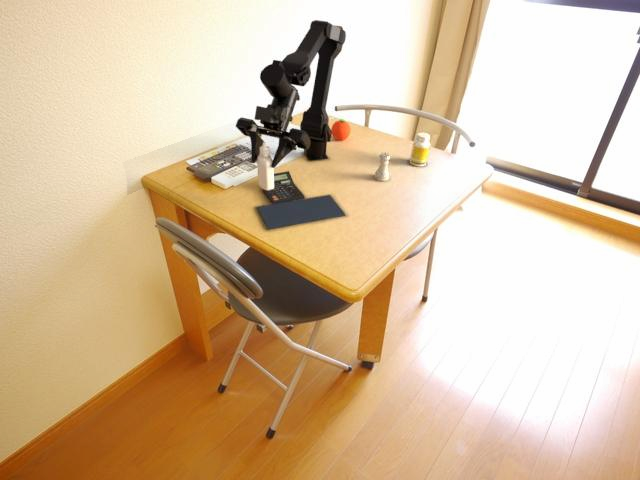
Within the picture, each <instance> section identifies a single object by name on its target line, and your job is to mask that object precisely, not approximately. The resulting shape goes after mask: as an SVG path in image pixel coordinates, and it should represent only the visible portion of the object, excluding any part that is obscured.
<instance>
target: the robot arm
mask: <svg viewBox="0 0 640 480" xmlns="http://www.w3.org/2000/svg"><path fill="white" fill-rule="evenodd" d="M346 37H347V33H346V31H345V30H344V28H343V26H341V25H336V24H335V25H334V24H332V23H331V22H329V21H327V20H326V21H325V20H318V19H314V20H312V21H311V22H310V25H309V29H308V31H306V33H305V35H304V37H303V38H302V40H301V41H300V44H299V45H298V47H297V48H296V50H295V51H294V52H291V53H288V54H287V55H286V56H284V58H283V59H282V60H278V59H273V60H272V63H270V64H268V65H266V66H265V67H264V68H262V70H261V71H260V73H259V79H260V82H261V84H262V85H263V86H264V88H265V89H266V90H267V92H268V94H269V95H270V96H271V97H272V101H271V103H268V104H267V106H266V107H265V106H260V105H256V107H255V114H254V119H251V118H247V117H242V116H241V117H240V118H238V119H237V120H236V124H235V128H236V129H237V130H238V131H239V132H240V133H241V134H242V135H243V136H245V137H249V140H250V146H251V147H250V148H251V149H250V150H251V154H250V155H251V163H253V164H255V163H257V156H258V155H260V147H261V146H262V145H263V142H265V140H264V139H262V136H267V137H270V138H271V137H272V138H276V139H278V145H277V148H276V151H275V154H274V156H273V158H272V160H273V161H272V165H271V167H272V168H274V169H275V168H276V167H277V166H278V165H279V164H280V163H281V162H282V160H283V159H284V158H286V157H287V155H289V154H290V153H291V152H292V151H296V150H297V148H298V149H302V150H303V155H304V156H305V157H306V158H307V160H308V161H310V162H313V161H320V160H321V161H322V160H327V159H329V156H328V155H327V145H328V143H330V142H331V141H332V137H333V135H332V131H331V129H332V128H331V127H330V125H329V121H330V118H329V115H328V113H327V109H326V108H327V103H328V97H329V91H330V88H331V87H330V86H331V80H332V75H333V69H334V64H335V59H336V58H337V57H338V56H339V55H340V53H341V52H342V50H343V46H344V44H345V42H346ZM317 55H318V57H317V64H316V71H315V77H314V83H313V87H312V88H313V89H312V95H311V101H310V105H309V107H308V108H307V109H306V110H304V111H303V113H302V119H301V121H300V126H299V129H298V128H293V127H292V128H291V129H289V131H287V130H288V127H289V124H290V123H291V122H293V120H294V117H293V116H292V115H293V113H294V109H295V107H296V104H297V102H299V101H300V100H301V96H300V93H299V90H298V89H297V88H296V87H295V86H298V87H305V86H306V85H307V84H308V83H309V81H310V79H311V75H312V71H311V65H312V63H313V61H314V59H315V58H316V56H317ZM255 120H257V121H259V123H260V124H261V125H258V124H257V123H256V121H255ZM262 125H263V126H262Z"/></svg>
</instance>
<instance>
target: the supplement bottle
mask: <svg viewBox="0 0 640 480" xmlns="http://www.w3.org/2000/svg"><path fill="white" fill-rule="evenodd" d="M430 138H431V135H430V134H429V133H427V132H418V133H417V135H416V139H414V140H413V142H412V147H411V154H410V157H409V163H410V164H411V165H412V166H416V167H424V166H426V164H427V160H428V157H429V152H430V147H431V143H430Z"/></svg>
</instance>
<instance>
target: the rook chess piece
mask: <svg viewBox="0 0 640 480" xmlns="http://www.w3.org/2000/svg"><path fill="white" fill-rule="evenodd" d="M379 159H380V160H379V161H378V162H379V166H378V168H377V169H376V171H375V172H374V178H375V180H377V181H379V182H386V181H388V180H389V179H390V172H389V170H388V165H389V163H390V162H389V160H390V159H391V156H390V153H389V152H381V153H380V155H379Z"/></svg>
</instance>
